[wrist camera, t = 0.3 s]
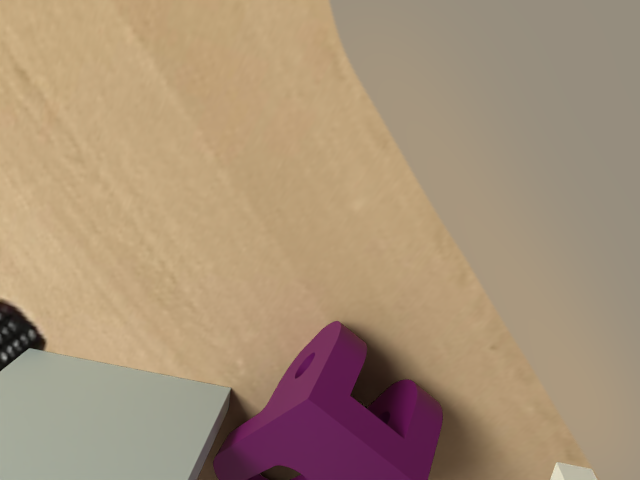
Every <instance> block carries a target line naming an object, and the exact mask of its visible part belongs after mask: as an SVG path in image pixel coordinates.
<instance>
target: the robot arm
mask: <svg viewBox="0 0 640 480" xmlns="http://www.w3.org/2000/svg"><path fill="white" fill-rule="evenodd" d="M550 480H597V478H596V476H595V474H594V472H593V471H592V469H589V468H584V467H579V466H574V465H569V464H564V463H559V462H556V465H555V468H554V471H553V474H552V476H551V479H550Z"/></svg>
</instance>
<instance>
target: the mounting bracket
mask: <svg viewBox="0 0 640 480" xmlns="http://www.w3.org/2000/svg"><path fill="white" fill-rule="evenodd" d="M366 354H367V345H366V343H365V342H364V341H362V340H361V339H360V338H359V337H358V336H356V335H355V334H354V333H353V332H351V331H350V330H349V329H348V328H346V327H345V326H344V325H343V324H342V323H340V322H339V321H335V322H332V323H330V324H329V325H327V326H326V327H325V328H323V329H322V330H321V331H320V332H319V333H318V334H317V335H316V336H315V337H314V338H313V340H312V341H311V342H310V343H309V344H308V345H307V346H306V347H305V348H304V349H303V350H302V351H301V352H300V353H299V355H298V356H297V357H296V358H295V360H294V361H293V362H292V364H291V365H290V367H289V368H288V370H287V371H286V373H285V374H284V376H283V377H282V379H281V381H280V382H279V384H278V386H277V388H276V389H275V391H274V393H273V395H272V397H271V398H270V400H269V402H268V404H267V405H266V407H265V408H264V409H263V410H262V411H261V412H260V413H259V414H257V415H256V416H254V417H253V418H251V419H250V420H248V421H247V422H245V423H244V424H242V425H241V426H239V427H238V428H236V429H235V430H233V431H232V432H231V433H230V434H229V435H228V436H227V438H226V440H225V441H224V443H223V445H222V446H221V448H220V450H219V452H218V453H217V455H216V457H215V458H214V461H213V467H214V471H215V474H216V475H217V477H218V479H219V480H268V479H266V478H264V477H263V476H261V475H260V474H259V473H261V472H263V471H265V470H267V469H269V468H271V467H273V466H276V465H281V466H286V467H289V468H291V469H294V470H296V471H297V472H299V473H300V474H302V475H299V476H297V477H295V478H293V479H290V480H428V476H429V473H430V469H431V465H432V461H433V457H434V454H435V450H436V446H437V442H438V438H439V434H440V431H441V426H442V420H443V413H442V408H441V405H440V404H439V402H437V401H436V400H435V399H434V398H433V397H431V396H430V395H429V394H428V393H426V392H425V391H424V390H423V389H422V388H420V387H419V386H418V385H417V384H415V383H414V382H413V381H411V380H407V379H405V380H401V381H398V382H396V383H394V384H392V385H391V386H390V387H389V388H388V389H387V390H386V391H385V392H383V393H382V394H381V395H380V396H379V397H378V398H377V399H376V400H375V401H374V402H373V403H372V404H371V405H370V406H369V407H368V408H367V409H366V408H365V407H364V406H362V405H361V404H360V403H359V402H357V401H356V400H355V399H354V398H352V397H351V396H350V394H351V392H352V390H353V387H354V385H355V383H356V380H357V378H358V375H359V373H360V371H361V368H362V366H363V364H364V361H365V358H366Z"/></svg>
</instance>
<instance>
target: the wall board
mask: <svg viewBox="0 0 640 480" xmlns="http://www.w3.org/2000/svg"><path fill="white" fill-rule="evenodd" d="M230 392H231V388H229V387H223V386H218V385H213V384H208V383H203V382H198V381H193V380H188V379H183V378H178V377H173V376H167V375H162V374H157V373H152V372H147V371H142V370H137V369H132V368H127V367H122V366H117V365H112V364H106V363H101V362H96V361H91V360H86V359H81V358H76V357H71V356H66V355H61V354H56V353H50V352H45V351H40V350H35V349H30V348H29V349H28V350H27V351H25V352H24V353H23V354H22V355H20V356H19V357H18V358H17V359H15V360H14V361H13V362H12V363H10V364H9V365H8V366H7V367H5V368H4V369H3V370H2V371H1V372H0V480H197V478H198V476H199V474H200V471H201V469H202V467H203V465H204V462H205V460H206V458H207V456H208V454H209V451H210V449H211V447H212V445H213V442H214V440H215V438H216V436H217V434H218V431H219V429H220V427H221V425H222V422H223V420H224V418H225V416H226V414H227V411H228V409H229V401H230Z"/></svg>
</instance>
